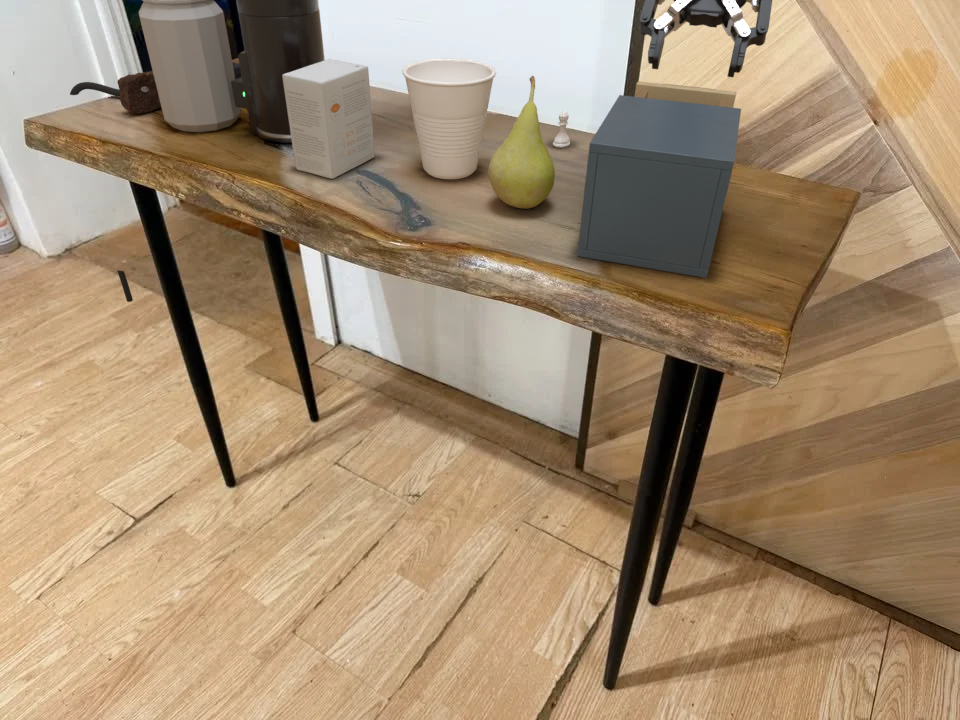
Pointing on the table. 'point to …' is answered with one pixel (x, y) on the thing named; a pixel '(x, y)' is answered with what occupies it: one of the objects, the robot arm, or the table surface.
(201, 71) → the jar
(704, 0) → the robot arm
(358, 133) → the small box
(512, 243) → the table surface
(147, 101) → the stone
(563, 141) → the chess pawn
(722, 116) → the cabinet
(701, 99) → the drawer
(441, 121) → the cup
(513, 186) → the fruit
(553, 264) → the table surface
